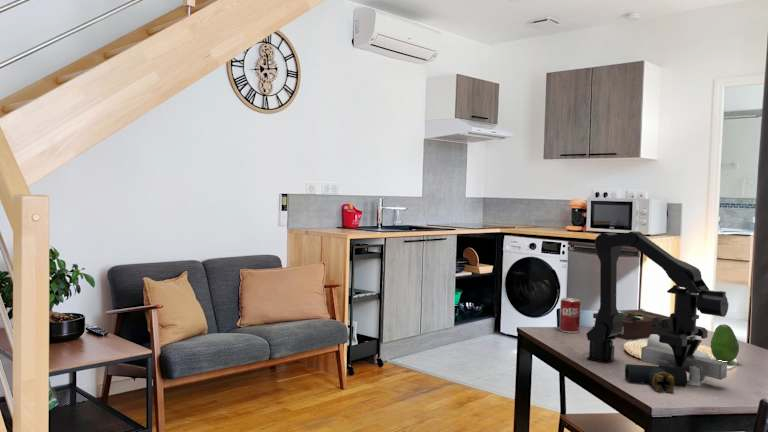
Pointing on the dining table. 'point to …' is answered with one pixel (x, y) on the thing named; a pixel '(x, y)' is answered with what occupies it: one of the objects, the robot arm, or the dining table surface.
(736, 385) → the dining table surface
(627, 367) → the pipe connector
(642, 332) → the brown flat box
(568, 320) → the soda can
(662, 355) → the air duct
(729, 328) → the avocado
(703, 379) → the collar rail
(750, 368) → the dining table surface
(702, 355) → the tube
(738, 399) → the dining table surface
